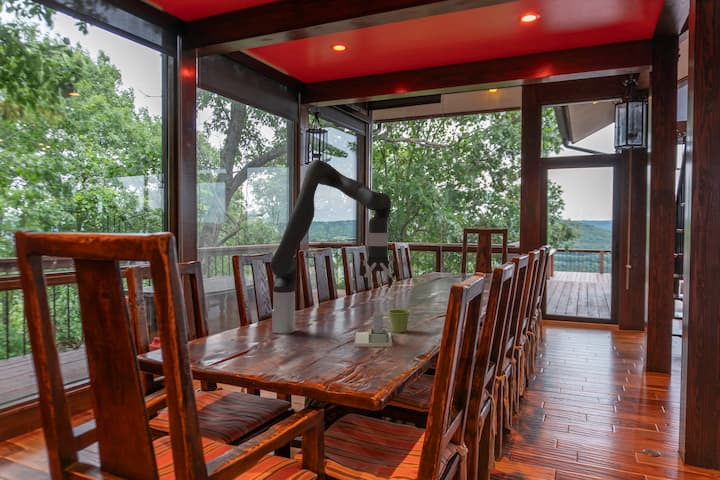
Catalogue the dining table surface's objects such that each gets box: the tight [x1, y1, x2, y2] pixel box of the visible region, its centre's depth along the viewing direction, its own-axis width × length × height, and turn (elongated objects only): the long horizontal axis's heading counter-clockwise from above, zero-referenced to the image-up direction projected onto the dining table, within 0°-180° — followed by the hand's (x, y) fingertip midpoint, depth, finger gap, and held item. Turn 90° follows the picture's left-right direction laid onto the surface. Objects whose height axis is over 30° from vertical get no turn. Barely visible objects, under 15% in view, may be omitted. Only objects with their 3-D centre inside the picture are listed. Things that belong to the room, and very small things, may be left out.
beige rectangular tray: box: [354, 328, 393, 348], centre depth 179 cm, size 14×18×4 cm
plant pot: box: [387, 308, 411, 334], centre depth 195 cm, size 9×9×9 cm
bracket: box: [373, 311, 384, 334], centre depth 176 cm, size 4×6×10 cm, turn 178°
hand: (378, 287), depth 176 cm, fingers open, 8 cm apart
